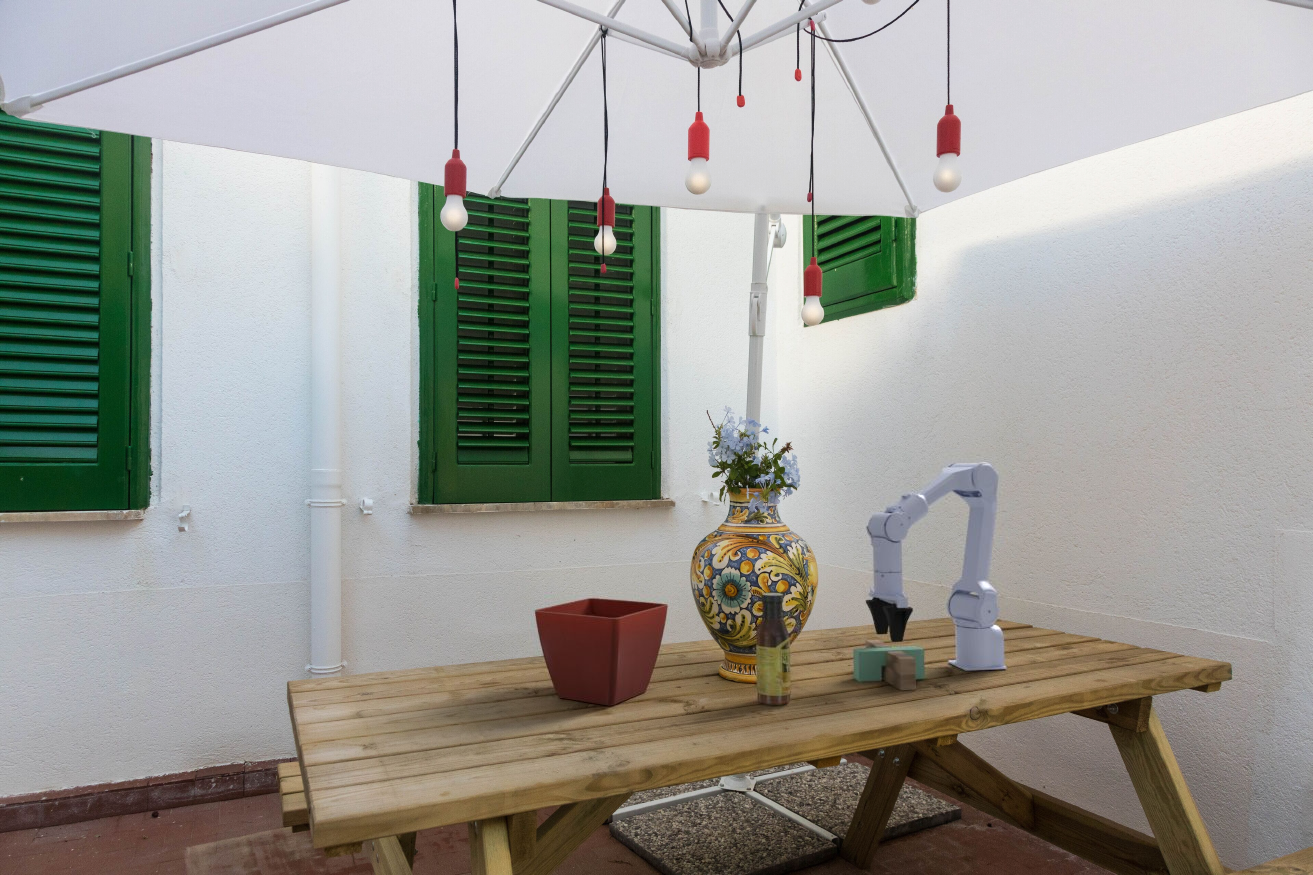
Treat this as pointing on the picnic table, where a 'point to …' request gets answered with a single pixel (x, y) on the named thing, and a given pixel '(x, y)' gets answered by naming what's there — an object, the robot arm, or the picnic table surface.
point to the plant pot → (601, 647)
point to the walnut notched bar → (897, 667)
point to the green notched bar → (883, 661)
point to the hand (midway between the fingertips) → (889, 637)
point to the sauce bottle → (773, 653)
